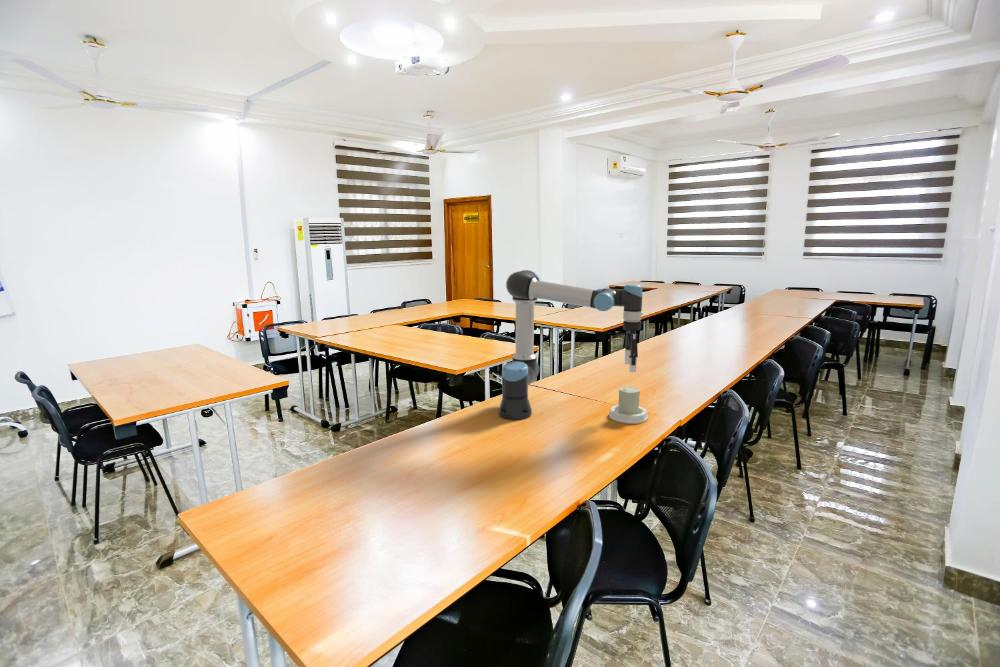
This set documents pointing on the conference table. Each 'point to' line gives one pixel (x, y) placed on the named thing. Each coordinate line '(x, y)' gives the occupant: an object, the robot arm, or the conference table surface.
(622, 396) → the can
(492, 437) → the conference table surface
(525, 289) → the robot arm
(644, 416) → the tray
